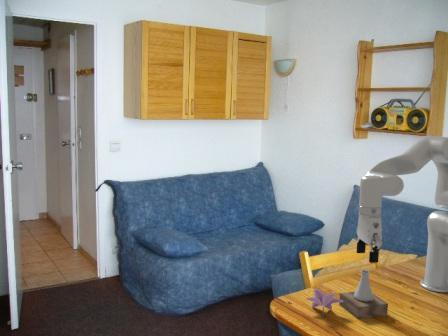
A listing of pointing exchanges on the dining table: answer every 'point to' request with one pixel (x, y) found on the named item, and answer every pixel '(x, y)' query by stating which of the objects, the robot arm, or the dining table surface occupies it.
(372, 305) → the walnut block
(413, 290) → the dining table surface
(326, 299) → the lily
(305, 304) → the dining table surface
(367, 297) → the flask
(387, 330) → the dining table surface
